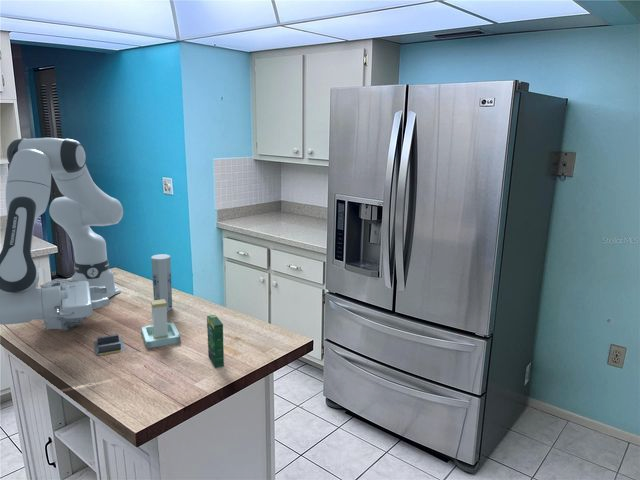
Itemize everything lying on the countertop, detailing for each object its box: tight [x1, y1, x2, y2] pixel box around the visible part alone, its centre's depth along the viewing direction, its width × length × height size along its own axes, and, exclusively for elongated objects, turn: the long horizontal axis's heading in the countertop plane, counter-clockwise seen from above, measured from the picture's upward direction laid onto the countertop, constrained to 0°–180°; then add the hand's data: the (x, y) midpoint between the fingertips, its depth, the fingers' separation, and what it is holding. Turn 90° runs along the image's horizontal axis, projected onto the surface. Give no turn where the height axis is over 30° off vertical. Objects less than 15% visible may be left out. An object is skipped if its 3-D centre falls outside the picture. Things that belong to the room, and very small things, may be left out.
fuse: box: [150, 299, 168, 339], centre depth 148 cm, size 4×4×12 cm
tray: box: [141, 321, 181, 349], centre depth 149 cm, size 12×10×3 cm
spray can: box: [150, 253, 173, 312], centre depth 171 cm, size 6×6×20 cm
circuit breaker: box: [39, 277, 92, 331], centre depth 154 cm, size 8×14×15 cm, turn 78°
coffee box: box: [206, 314, 225, 369], centre depth 135 cm, size 8×3×13 cm, turn 27°
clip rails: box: [93, 333, 126, 357], centre depth 142 cm, size 10×8×2 cm
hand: (108, 295), depth 141 cm, fingers open, 8 cm apart
